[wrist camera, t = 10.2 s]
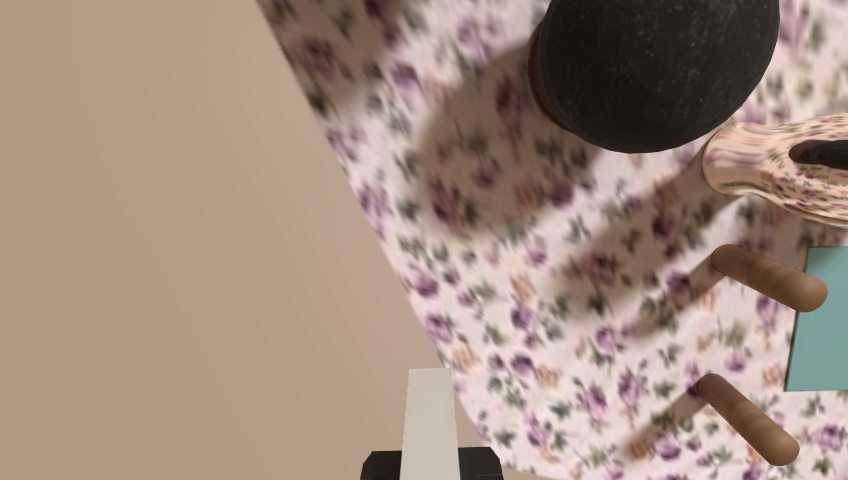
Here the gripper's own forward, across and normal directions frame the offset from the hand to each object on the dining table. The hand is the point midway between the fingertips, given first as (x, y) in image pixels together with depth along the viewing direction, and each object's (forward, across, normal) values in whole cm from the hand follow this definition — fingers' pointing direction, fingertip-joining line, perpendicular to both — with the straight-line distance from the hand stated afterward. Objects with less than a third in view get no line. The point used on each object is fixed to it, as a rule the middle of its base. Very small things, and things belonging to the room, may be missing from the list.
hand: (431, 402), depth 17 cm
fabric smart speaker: (+25, +14, +14) cm, 32 cm away
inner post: (+24, +26, -3) cm, 36 cm away
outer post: (+24, +26, -15) cm, 39 cm away
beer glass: (+25, +26, +6) cm, 36 cm away
